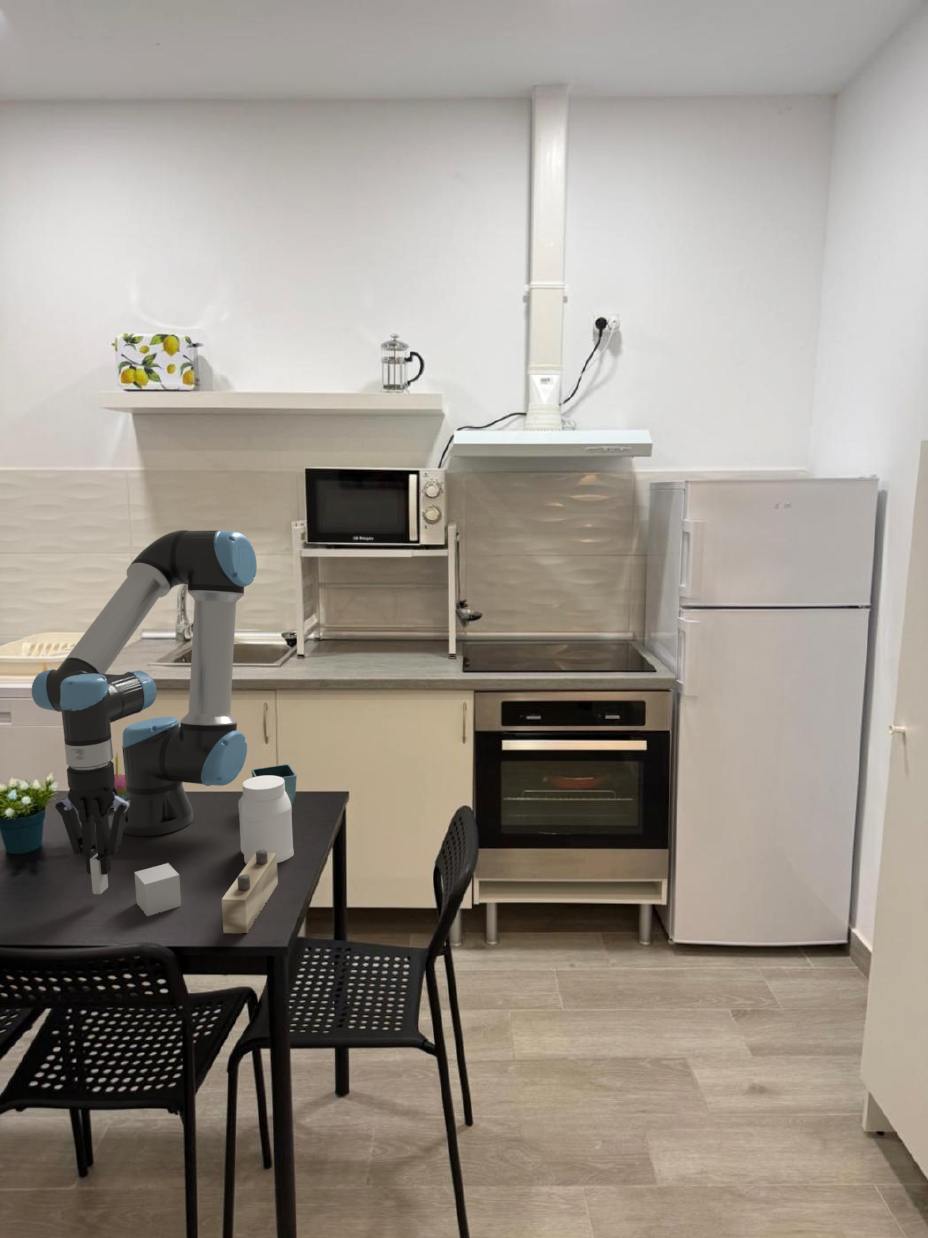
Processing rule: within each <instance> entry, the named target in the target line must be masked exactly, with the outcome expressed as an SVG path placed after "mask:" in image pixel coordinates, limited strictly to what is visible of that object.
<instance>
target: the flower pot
mask: <svg viewBox="0 0 928 1238" xmlns="http://www.w3.org/2000/svg"><path fill="white" fill-rule="evenodd" d="M266 775H272V776H279V777H281V778H283V779H284V780H285V792H286V793H287V795H288V797H289V799H290V802H291V807H292V806H293V803H294V801H295V798H296V793H297V791H296V790H297V778H298V777H297V774H296V772H295V771H294V769H293V768H292V767H291V765H290V764H288V763H286V764H279V765H272V766H266V767H259V768H254V769H251V776H252V777H251V778H253V777H257V776H266Z"/></svg>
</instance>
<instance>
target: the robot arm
mask: <svg viewBox="0 0 928 1238" xmlns="http://www.w3.org/2000/svg"><path fill="white" fill-rule="evenodd" d="M257 564H258V562H257V556H256V552H255V550H254V547H253V545H252V544H251V541H250V540H249V539H248V537H246V536H245V535H244V534H242V533H240V532H238V531H232V530H231V531H229V530H225V529H224V530H221V529H219V530H187V529H185V530H184V529H182V530H176V531H172V532H169V533H167V534H164V535H163V536H160V537H159V538H157V539H156V540H155V541H152V543H150V544H149V545H148V546H147V547H146V548H144V549H143V550H142V551H141V552H140V553H139V554H138V555H137V556H136V557H135V559H134V560H133V561H132V562H131V563H130V565H129V566H128V567H127V568H126V579H124V581H123V582H122V584H121V585H120V586H119V588H118V589H117V590H116V591H115V593H114V594H113V596H111V598H110V599H109V601H108V602H107V603H106V605H105V606H104V607H103V609H102V610H101V611H100V612H99V614H98V616H96V618H95V620H94V621H93V622H92V623H91V624H90V626H89V627H88V629H87V630H86V631H85V633H84V634H83V635H82V636H81V638H80V639H79V641H78V642H77V643H76V645H75V646H74V647H73V648H72V650H70V652H69V654H68V655H67V656H66V657H65V658H64V661H63V662H62V663H61V664H60V665H59V667H58V668H57V669H46V670H43V671H42V672H40V673H38V674H37V675H36V676H35V678H34V680H33V681H32V684H31V697H32V699H33V701H34V704H36V705H37V706H38V707H39V708H40V709H44V710H49V711H53V712H57V713H61V718H62V728H63V738H64V740H63V741H64V751H65V752H64V753H65V761H66V763H65V764H66V765H67V766H68V767H67V769H66V778H67V786H68V788H69V789H68V793H67V797H66V798H63V799H62V800H60V801H58V802H57V803H55V807H54V808H55V809H56V810H57V812H58V813H59V814H60V816H61V818H62V821H63V824H64V827H65V830H66V834H67V836H68V838H69V842H70V845H71V849H72V851H73V853H74V855H76V856H78V855H81V856H83V857H84V858H85V867H86V869H85V870H86V871H85V872H86V874H87V875H90V877H91V887H92V894H94V895H102V893H104V892H105V891H106V890H107V889H108V888H109V881H108V874H109V873H110V872H111V870H112V864H111V862H112V861H111V856H114V855H115V854H116V853H118V851H119V850H120V849H121V845H122V840H123V837H124V836H123V835H124V834H125V835H130V836H135V837H152V836H153V837H154V836H160V835H161V836H162V835H165V834H170V833H173V832H177V831H179V830H181V829H183V828H185V827H187V826H189V825H190V824H191V823H192V822H193V819H194V816H193V815H194V814H193V813H194V812H193V807H192V804H191V803H190V800H189V797H188V795H187V793H186V789H185V788H184V786H183V783H190V784H197V785H203V786H206V787H210V786H226V785H228V784H231V783H232V782H233V781H235V780H236V778H237V777H238V775H240V773H241V771H242V770H243V767H244V764H245V761H246V758H247V753H248V742H247V740H246V737H245V734H243V733H242V732H240V731H238V730H237V729H238V720H237V719H236V718H234V716H233V715H232V714H231V705H232V704H231V703H232V688H233V687H232V686H233V667H234V649H235V648H234V647H235V633H236V632H235V630H236V614H237V613H236V612H237V611H236V610H237V603H238V602H239V600H240V599H241V598H242V597H244V596H245V588H246V587H248V586H250V585H251V584H252V583H253V582H254V579H255V577H256V574H257V571H258V570H257V568H258V567H257ZM179 585H187V593H188V594H189V595H190V596H191V598H193V600H194V605H193V625H192V626H193V627H192V640H191V641H192V643H191V644H192V645H191V662H190V680H189V696H188V697H189V698H188V712H187V714H186V715H185V716H184V717H182V719H180V722H179V719H178V718H177V717H175V716H161V717H160V716H159V717H154V718H150V719H145V720H141V721H138V722H135V723H132V724H129V725H128V726H127V727H125V729H124V730H123V732H122V745H121V748H122V758H123V767H124V769H123V770H124V775H125V781H126V797H125V800H123V799H121V798H120V797H118V793H117V791H116V789H115V787H114V782H115V776H114V775H115V766H114V765H115V764H114V762H112V760H113V759H114V753H113V752H114V751H113V750H114V749H113V743H112V742H113V741H112V727H111V724H112V723H113V722H116V721H118V720H121V719H124V718H127V717H130V716H132V715H135V714H139V713H141V712H143V710H146V709H148V708H149V707H151V706H152V705H153V704H154V703H155V701H156V698H157V684H156V682H155V680H154V679H153V677H152V676H150V675H149V674H148V673H146V672H145V671H143V670H134V671H127V672H125V673H122V674H114V673H113V674H111V673H110V674H109V673H107V672H108V670H109V668H110V667H111V666H112V665H113V663H114V662H115V660H116V659H117V658H118V656H119V655H120V654H121V652H122V650H123V648H124V647H126V644H128V642H129V641H130V639H131V638H132V636H133V635H134V633H135V632H136V630H138V628H139V626H140V625H141V624H142V622H143V621H144V619H145V618H146V617H147V615H148V613H149V612H150V610H152V608H153V607H154V605H155V604H156V602H157V601H158V600H159V598H164V597H166V596H167V595H168V594H169V593H170V592H171V590H172V589H173V588H175V587H176V586H179ZM113 803H114V809H113V811H114V814H113V817H112V821H111V827H110V821H109V817H110V809H111V806H112V805H113ZM77 812H78V814H77ZM110 829H111V830H110Z"/></svg>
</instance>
